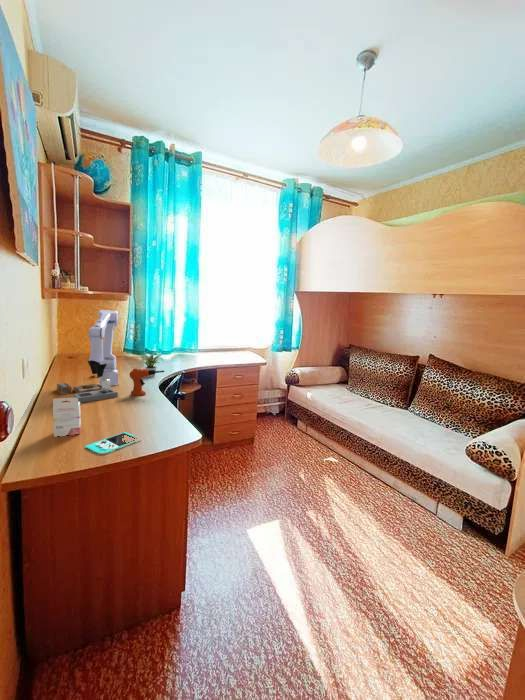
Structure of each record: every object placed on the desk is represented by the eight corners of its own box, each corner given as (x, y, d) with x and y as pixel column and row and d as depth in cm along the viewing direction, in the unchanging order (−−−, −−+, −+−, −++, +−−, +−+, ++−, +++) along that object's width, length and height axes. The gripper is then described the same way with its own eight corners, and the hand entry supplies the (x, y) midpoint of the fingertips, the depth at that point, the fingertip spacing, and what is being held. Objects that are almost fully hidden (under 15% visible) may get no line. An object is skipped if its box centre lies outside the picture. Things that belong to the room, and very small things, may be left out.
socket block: (94, 388, 179) (94, 383, 179) (100, 392, 172) (100, 388, 172) (73, 390, 172) (73, 386, 172) (80, 395, 165) (80, 390, 165)
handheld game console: (84, 448, 111) (84, 445, 111) (125, 434, 125) (125, 431, 124) (101, 457, 106) (101, 454, 106) (141, 441, 119) (141, 438, 119)
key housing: (65, 389, 174) (65, 382, 174) (71, 393, 168) (71, 386, 167) (56, 390, 171) (56, 383, 171) (62, 394, 165) (61, 388, 164)
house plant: (165, 378, 211) (166, 354, 208) (144, 380, 203) (144, 354, 200) (159, 373, 222) (159, 350, 220) (138, 375, 215) (138, 351, 212)
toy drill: (166, 393, 173) (163, 366, 170) (130, 397, 170) (126, 370, 168) (167, 391, 178) (164, 365, 175) (132, 394, 175) (128, 368, 172)
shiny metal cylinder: (108, 394, 170) (108, 378, 168) (111, 396, 167) (111, 380, 165) (100, 395, 167) (100, 379, 165) (103, 397, 164) (103, 380, 163)
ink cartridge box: (81, 429, 125) (80, 393, 123) (79, 434, 121) (79, 397, 118) (55, 432, 122) (54, 395, 119) (53, 437, 117) (51, 399, 115)
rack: (111, 392, 173) (111, 388, 172) (117, 396, 167) (117, 392, 167) (73, 398, 160) (73, 394, 159) (79, 403, 154) (78, 398, 154)
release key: (63, 386, 174) (63, 382, 174) (68, 390, 168) (68, 385, 168) (58, 387, 172) (58, 382, 172) (62, 390, 167) (62, 386, 166)
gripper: (83, 348, 167) (84, 373, 170) (93, 352, 158) (94, 379, 160) (97, 347, 173) (98, 371, 175) (108, 351, 163) (108, 377, 165)
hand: (97, 375), depth 168 cm, fingers open, 7 cm apart
